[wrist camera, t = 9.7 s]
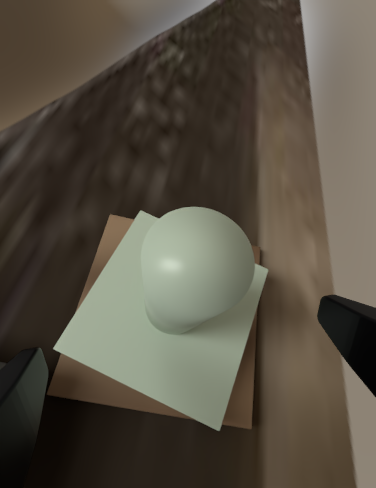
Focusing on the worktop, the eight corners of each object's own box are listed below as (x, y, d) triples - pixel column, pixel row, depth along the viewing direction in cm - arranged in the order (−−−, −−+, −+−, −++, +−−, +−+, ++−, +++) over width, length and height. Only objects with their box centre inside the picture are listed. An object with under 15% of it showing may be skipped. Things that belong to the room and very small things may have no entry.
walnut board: (247, 426, 14) (251, 429, 13) (50, 393, 13) (46, 394, 13) (256, 250, 18) (260, 247, 18) (111, 218, 18) (110, 214, 17)
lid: (211, 422, 13) (322, 550, 5) (63, 349, 14) (-80, 346, 5) (258, 276, 17) (366, 202, 8) (141, 222, 17) (133, 99, 9)
